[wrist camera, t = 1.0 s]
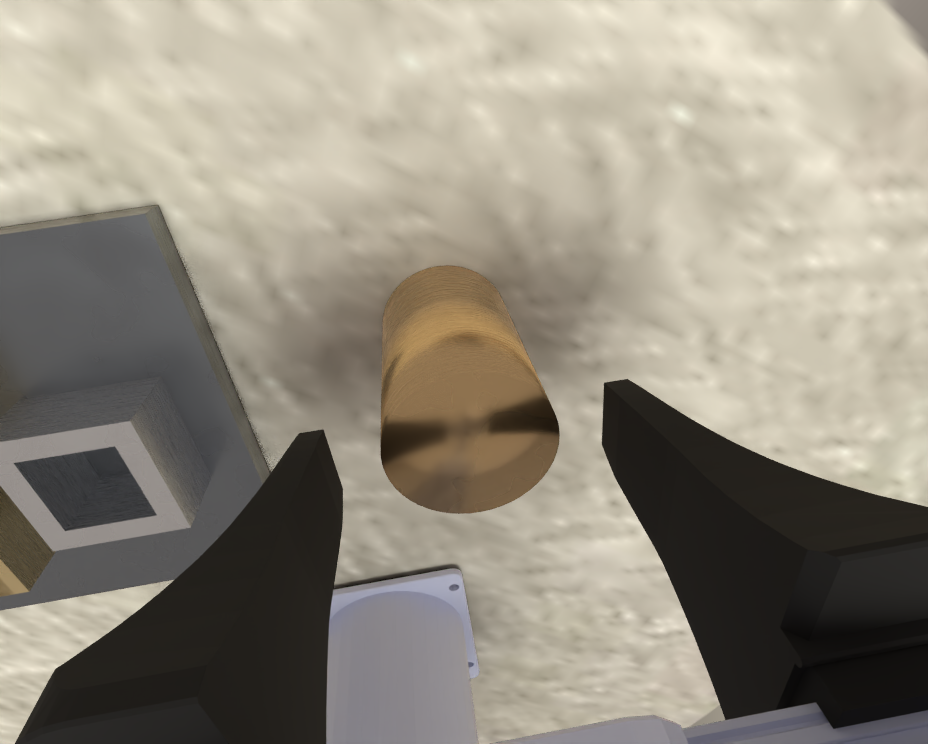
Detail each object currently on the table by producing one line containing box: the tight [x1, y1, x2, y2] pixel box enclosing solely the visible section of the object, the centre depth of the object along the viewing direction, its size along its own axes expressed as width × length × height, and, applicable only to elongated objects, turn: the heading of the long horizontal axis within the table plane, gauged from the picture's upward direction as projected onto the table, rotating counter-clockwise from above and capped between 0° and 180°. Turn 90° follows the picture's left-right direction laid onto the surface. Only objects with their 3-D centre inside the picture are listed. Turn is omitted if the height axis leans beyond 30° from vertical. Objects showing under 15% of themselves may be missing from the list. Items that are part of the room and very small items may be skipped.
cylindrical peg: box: [381, 266, 559, 514], centre depth 16 cm, size 4×4×7 cm
